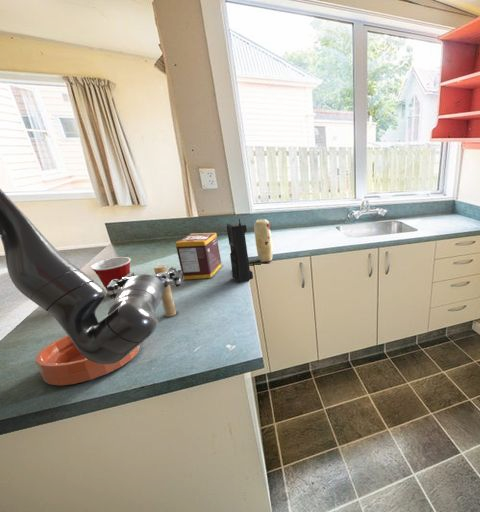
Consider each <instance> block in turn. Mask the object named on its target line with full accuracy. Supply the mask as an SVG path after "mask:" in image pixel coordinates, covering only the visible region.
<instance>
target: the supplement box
mask: <svg viewBox="0 0 480 512" xmlns="http://www.w3.org/2000/svg"><path fill="white" fill-rule="evenodd" d="M174 245H175V247H176V253H177V256H178V262H179V266H180V270H182V272H183V276H184V280H185V281H186V280H196V279H197V280H198V279H211V278H212V277H213V276H214V275H215V274H216V273H217V272H218V271H219V270H220V268H221V267H222V266H223V265H222V264H223V263H222V260H221V254H220V247H219V241H218V235H217V232H203V233H202V232H201V233H200V232H199V233H189V234H188V235H186V236H184V237H183V238H181V239H179V240H177V241H176V242H175V244H174ZM184 280H183V281H184Z"/></svg>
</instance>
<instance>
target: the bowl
mask: <svg viewBox="0 0 480 512" xmlns="http://www.w3.org/2000/svg"><path fill="white" fill-rule="evenodd" d="M140 345H141V344H140ZM140 345H139V346H137V347H136V348H135V349H134V350H133V351H132V352H130V353H129V354H128V355H127V356H126V357H124V358H123V359H122V360H120V361H119V362H117V363H114V364H98V363H95V362H92V361H90V360H88V359H87V358H85V357H84V356H83V355H82V354H81V353H80V352H79V350H78V349H77V348H76V346H75V345H74V343H73V342H72V340H71V339H70V337H69V336H68V335H65V336H63V337H61V338H58V339H57V340H55V341H53V342H51V343H50V344H48V345H46V346H45V347H43V348H42V349H40V351H39V352H38V353H37V354H36V356H35V361H34V362H35V364H36V366H37V367H36V368H37V369H38V371H39V373H40V376H41V378H42V381H43V382H45V383H46V384H47V385H52V386H68V385H76V384H79V383H84V382H88V381H91V380H94V379H97V378H99V377H102V376H105V375H107V374H109V373H111V372H113V371H115V370H117V369H120V368H121V367H123V366H124V365H126V364H127V363H128V362H130V361H132V360H133V359H134V358H135V356H136V355H137V354H138V353H139V351H140V348H141V346H140Z"/></svg>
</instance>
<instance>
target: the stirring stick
mask: <svg viewBox="0 0 480 512" xmlns="http://www.w3.org/2000/svg"><path fill="white" fill-rule="evenodd" d="M166 267H167V266H166V265H164V264H160V265H156V266H154V267H153V271H154V275H156V274H159V273H161V272H168V271H167V268H166ZM161 278H162V277H161ZM161 303H162V307H163V311H164V315H165V317H167V318H170V317H173V316H176V315H177V310H176V306H175V301H174V296H173V293H172V288H171V285H168V286H167V287H166V288H165V289H164V293H163V296H162V300H161Z"/></svg>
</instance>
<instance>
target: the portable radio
mask: <svg viewBox="0 0 480 512" xmlns="http://www.w3.org/2000/svg"><path fill="white" fill-rule="evenodd" d="M226 231H227V239H228V245H229V247H230V253H229V257H230V264H231V266H230V267H231V277H232V278H233V279H234V280H235V281H237V283H244V282H248V281H250V280H252V279H254V275H253V274H254V273H253V271H252V270H251V268H250V261H249V255H248V247H247V240H246V233H247V232H248V230H247V225H246V224H245V223H242V222H241V218H238V222H233V223H232V222H231V223H230V222H229V223H227V224H226Z"/></svg>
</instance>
